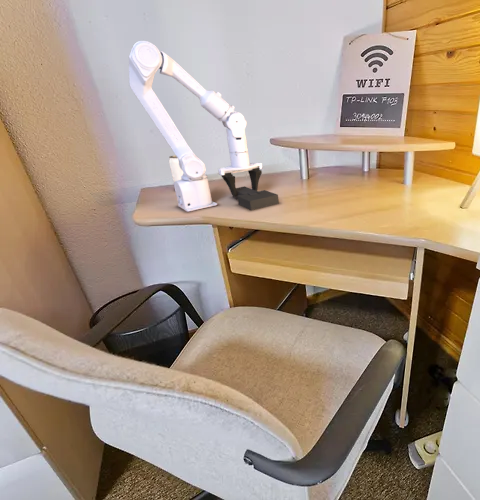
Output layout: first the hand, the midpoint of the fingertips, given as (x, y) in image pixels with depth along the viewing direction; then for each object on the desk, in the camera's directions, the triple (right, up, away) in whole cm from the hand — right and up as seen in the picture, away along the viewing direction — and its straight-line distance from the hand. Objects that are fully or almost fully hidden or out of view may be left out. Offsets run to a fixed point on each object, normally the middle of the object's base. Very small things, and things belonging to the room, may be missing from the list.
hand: (244, 193), depth 108 cm
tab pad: (+1, -2, 0) cm, 2 cm away
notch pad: (+6, -4, -5) cm, 9 cm away
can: (-26, +4, +12) cm, 29 cm away
